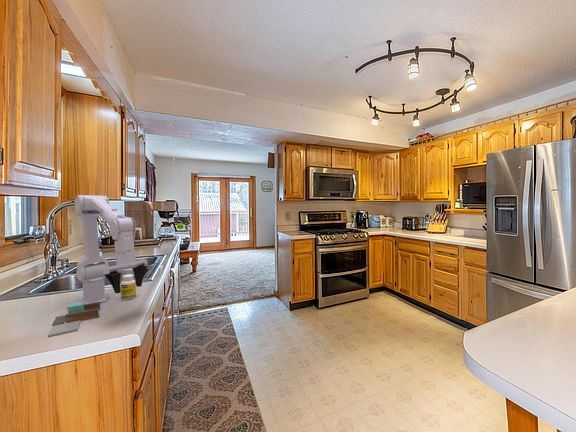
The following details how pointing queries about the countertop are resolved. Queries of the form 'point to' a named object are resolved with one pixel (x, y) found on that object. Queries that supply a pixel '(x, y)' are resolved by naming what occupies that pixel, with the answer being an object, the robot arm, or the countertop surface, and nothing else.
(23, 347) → the countertop surface
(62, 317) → the mat
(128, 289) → the supplement bottle
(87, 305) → the channel
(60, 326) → the tile
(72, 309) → the block
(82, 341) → the countertop surface
